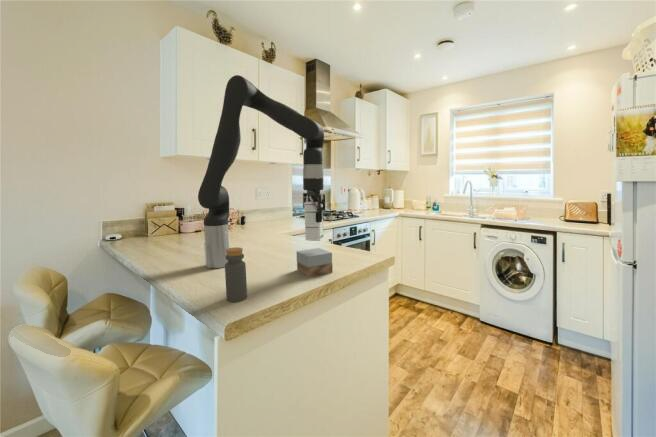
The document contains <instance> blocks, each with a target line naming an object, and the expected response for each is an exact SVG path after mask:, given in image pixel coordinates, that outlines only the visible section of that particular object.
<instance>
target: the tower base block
mask: <svg viewBox="0 0 656 437" xmlns="http://www.w3.org/2000/svg"><path fill="white" fill-rule="evenodd" d="M296 264H297V265H296V269H297V270H296V271H298V272H299V273H301V274H303V275H304V276H306V277H307V278H312V277H317V276H322V275H326V274H332V273H333V262H332V263H330V264H325V265H319V266H313V267H307V266H305V265H303V264H301V263H299V262H297V261H296Z"/></svg>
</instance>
